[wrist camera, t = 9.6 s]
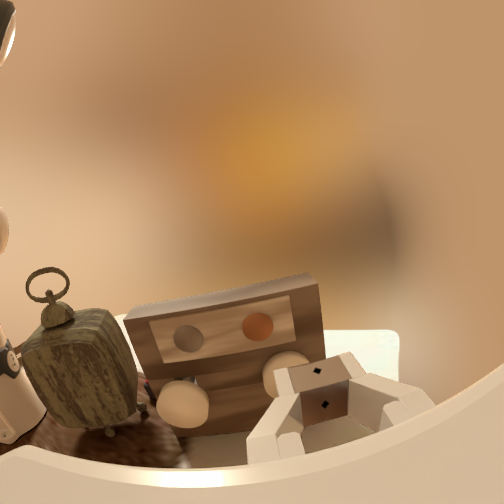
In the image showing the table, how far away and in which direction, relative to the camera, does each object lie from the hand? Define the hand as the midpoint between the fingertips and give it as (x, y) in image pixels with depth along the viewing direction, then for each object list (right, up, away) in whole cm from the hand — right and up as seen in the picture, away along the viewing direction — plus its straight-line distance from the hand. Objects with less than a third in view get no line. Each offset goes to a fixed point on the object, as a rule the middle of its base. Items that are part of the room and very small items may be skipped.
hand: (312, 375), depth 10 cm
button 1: (-9, -13, +18) cm, 24 cm away
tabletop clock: (-23, -22, +22) cm, 38 cm away
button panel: (-2, -17, +22) cm, 28 cm away
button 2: (+2, -10, +20) cm, 22 cm away
